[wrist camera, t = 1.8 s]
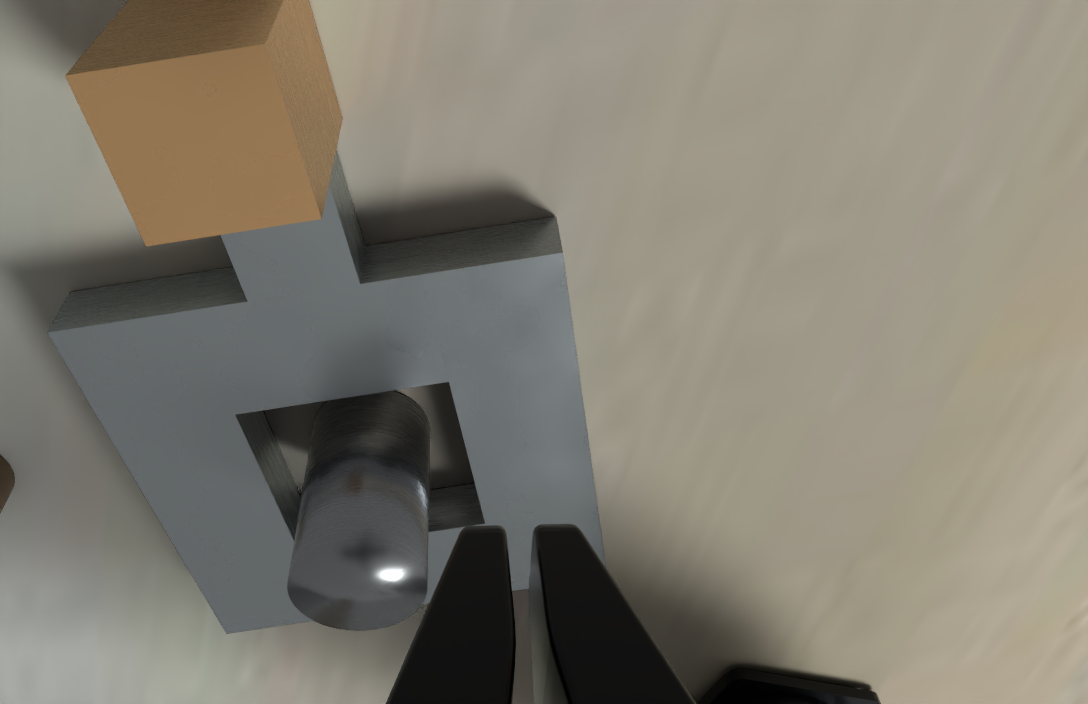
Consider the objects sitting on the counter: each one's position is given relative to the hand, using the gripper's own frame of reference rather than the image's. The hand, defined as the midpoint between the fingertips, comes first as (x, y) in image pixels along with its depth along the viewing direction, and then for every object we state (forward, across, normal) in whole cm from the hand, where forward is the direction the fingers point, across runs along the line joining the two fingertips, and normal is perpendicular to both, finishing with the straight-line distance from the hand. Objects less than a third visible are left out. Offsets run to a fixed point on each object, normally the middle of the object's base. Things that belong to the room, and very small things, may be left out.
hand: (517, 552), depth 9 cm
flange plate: (+12, +3, +7) cm, 14 cm away
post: (+12, +3, +10) cm, 16 cm away
